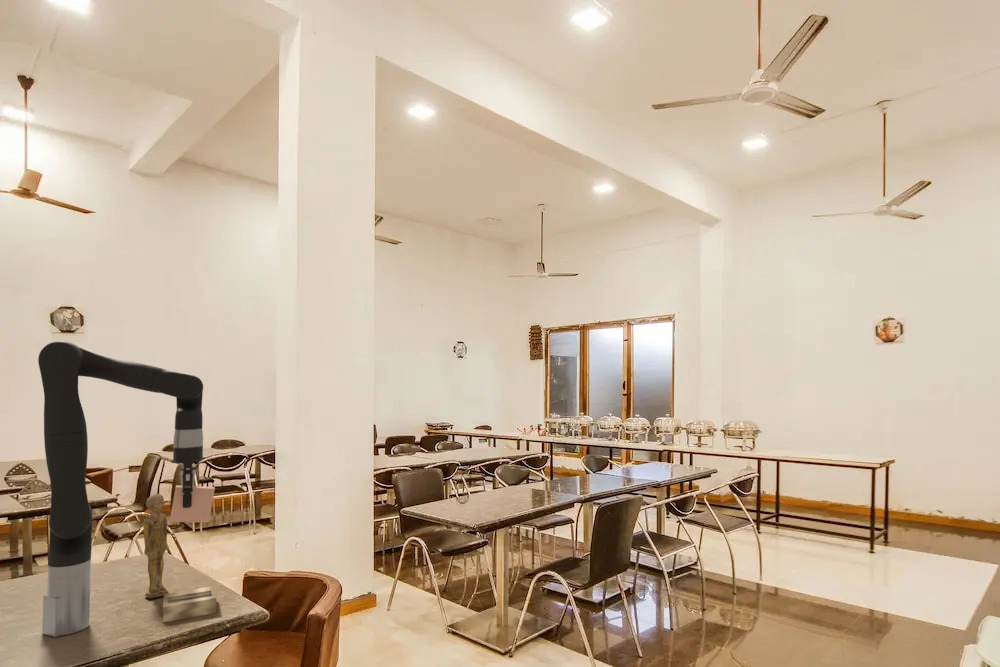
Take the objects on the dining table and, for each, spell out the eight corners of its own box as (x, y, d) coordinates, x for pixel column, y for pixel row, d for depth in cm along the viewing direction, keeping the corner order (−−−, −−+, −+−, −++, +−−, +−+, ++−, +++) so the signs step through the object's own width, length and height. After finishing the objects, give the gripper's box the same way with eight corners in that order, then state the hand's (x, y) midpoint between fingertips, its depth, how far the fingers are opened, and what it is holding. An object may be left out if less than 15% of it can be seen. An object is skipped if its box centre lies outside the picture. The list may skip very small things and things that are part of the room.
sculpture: (148, 601, 177) (150, 497, 179) (138, 597, 181) (140, 495, 183) (172, 594, 182) (173, 493, 184) (162, 590, 186) (164, 491, 188)
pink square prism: (169, 521, 169) (175, 487, 170) (169, 519, 171) (176, 485, 173) (208, 522, 173) (214, 488, 174) (208, 520, 176) (214, 487, 177)
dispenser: (162, 622, 162) (162, 604, 162) (163, 608, 171) (164, 591, 172) (216, 612, 168) (216, 595, 168) (214, 599, 177) (214, 583, 178)
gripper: (203, 446, 169) (202, 509, 168) (202, 441, 181) (201, 500, 180) (173, 448, 165) (171, 512, 164) (174, 443, 178) (172, 503, 177)
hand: (187, 506), depth 172 cm, fingers closed on pink square prism, 2 cm apart
